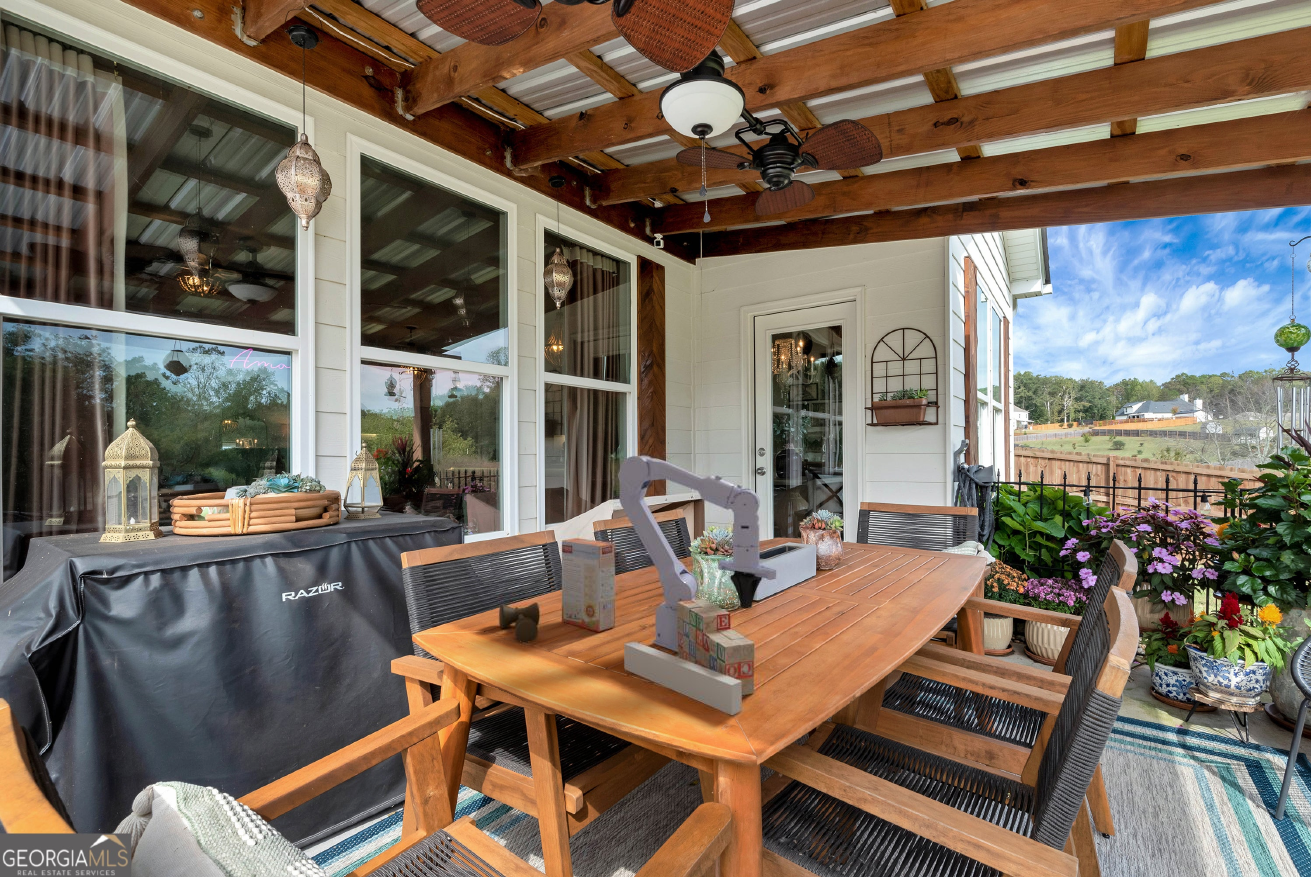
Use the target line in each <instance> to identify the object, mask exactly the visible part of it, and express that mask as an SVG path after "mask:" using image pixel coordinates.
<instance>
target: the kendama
mask: <svg viewBox="0 0 1311 877" xmlns="http://www.w3.org/2000/svg"><path fill="white" fill-rule="evenodd" d="M498 610H499V611H498V622H499V624H498V625H499V628H500V627H501V628H504V629H506V628H507V627H509V626H511V625H512V624H514V631H515V633H514V634H515V638H516V639H517V641H518V642H520V641H521V642H520V643H522V642H524V643H529V642H528V641H531V642H533V641H535V640H536V638H537V637H538V634H539V628H538V625H539V622H540V606H539V603H538V602H533V603H532V604H530V605H527V606H525V607H520V608H519V607H517V606H516V607H515V608H514V607H510V606H509V605H506V604H505V603H501V604H500V605H499V609H498ZM505 627H506V628H505ZM501 628H500V629H501Z"/></svg>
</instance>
